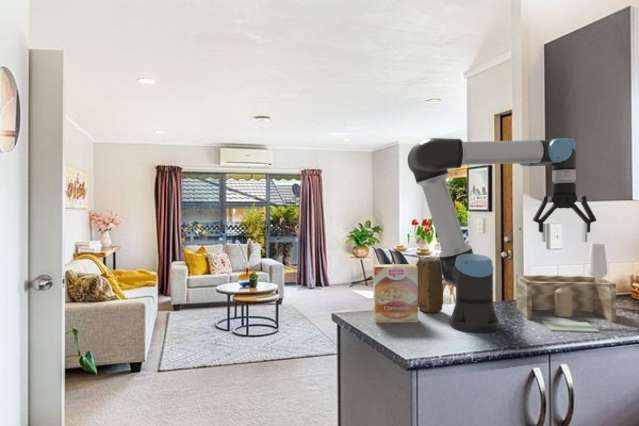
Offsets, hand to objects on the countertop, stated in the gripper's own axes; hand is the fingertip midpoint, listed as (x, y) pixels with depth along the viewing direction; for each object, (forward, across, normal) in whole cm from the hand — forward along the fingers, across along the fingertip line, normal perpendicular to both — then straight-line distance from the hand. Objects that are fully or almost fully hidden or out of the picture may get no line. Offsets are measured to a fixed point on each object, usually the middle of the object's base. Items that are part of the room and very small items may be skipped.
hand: (564, 241), depth 169 cm
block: (+27, -47, +1) cm, 54 cm away
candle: (+27, 0, 0) cm, 27 cm away
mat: (+27, -3, -17) cm, 32 cm away
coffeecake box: (+27, -59, -16) cm, 67 cm away
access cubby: (+26, 0, +1) cm, 27 cm away
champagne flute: (+27, +19, +23) cm, 40 cm away
